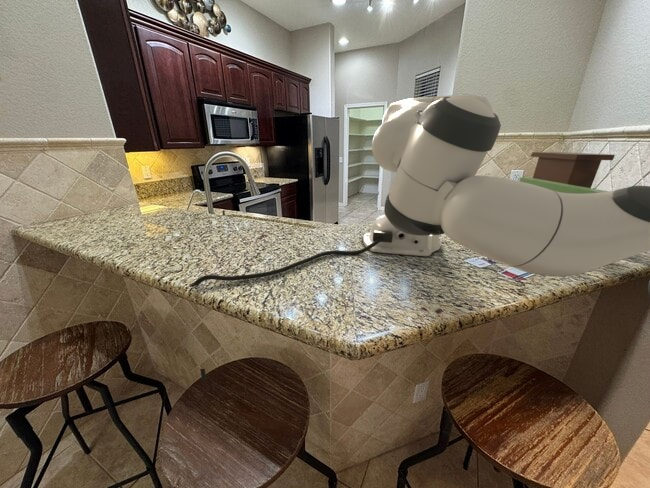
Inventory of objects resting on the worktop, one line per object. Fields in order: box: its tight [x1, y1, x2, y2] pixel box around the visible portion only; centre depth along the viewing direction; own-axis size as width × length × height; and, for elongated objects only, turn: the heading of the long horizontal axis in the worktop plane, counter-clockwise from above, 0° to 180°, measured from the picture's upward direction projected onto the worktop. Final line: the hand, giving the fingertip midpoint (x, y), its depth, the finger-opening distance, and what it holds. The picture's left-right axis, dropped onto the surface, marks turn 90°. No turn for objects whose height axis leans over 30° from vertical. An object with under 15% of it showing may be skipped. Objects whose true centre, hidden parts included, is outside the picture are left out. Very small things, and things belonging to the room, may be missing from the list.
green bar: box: [518, 177, 609, 194], centre depth 66 cm, size 3×26×2 cm, turn 0°
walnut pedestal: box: [530, 151, 616, 188], centre depth 80 cm, size 10×16×26 cm, turn 0°
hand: (644, 192), depth 49 cm, fingers open, 8 cm apart
